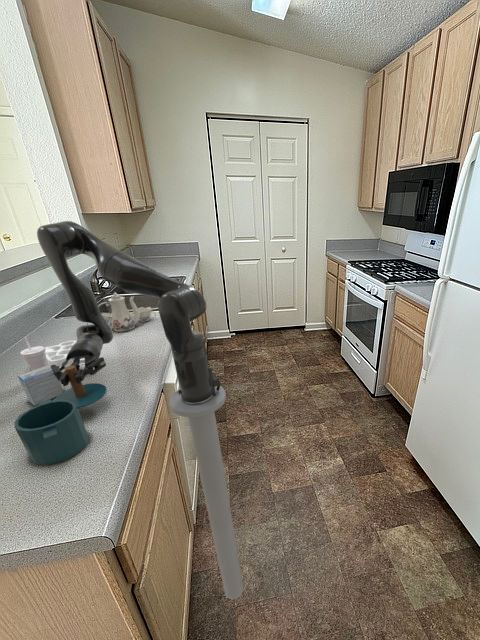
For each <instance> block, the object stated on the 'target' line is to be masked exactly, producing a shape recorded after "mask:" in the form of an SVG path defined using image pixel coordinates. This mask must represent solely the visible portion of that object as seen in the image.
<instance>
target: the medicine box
mask: <svg viewBox="0 0 480 640" xmlns="http://www.w3.org/2000/svg"><path fill="white" fill-rule="evenodd" d="M17 379H18V381H19V384H20V385H21V387H22V389H23V391H24V393H25V395H26V398H27V400H28V402H29V403H31V404H32V405H33V407H35V406H37V405H39V402H42V401H46V400H49V399H51V400H52V399H55V398H56V397H57V396H58V395H60V394H61V393H63V392H64V391H65V390H64V388H63V386H62V385H63V384H61V382H60V380H58V379H57V378H56V377H55V375H54V374H53V372H52V369H51V367H50V366H49V365H47V366H45V367H42V368H39V369H36V370H33V371H32V370H31V371H28V372H25V373H22V374H19V375H18V376H17Z"/></svg>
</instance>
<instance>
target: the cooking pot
mask: <svg viewBox="0 0 480 640" xmlns="http://www.w3.org/2000/svg"><path fill="white" fill-rule="evenodd" d="M14 429H15V431H16V433H17V434H18V437H19V439H20V441H21V443H22V444H23V445H22V446H23V447H24V449H25V451H26V452H27V454H28V456H29V459H30V460H31V461H32V462H33V463H35V464H36V465H42V466H46V465H54V464H57V463H61V462H64V461H67V460H68V459H70V458H72V457H74V456H76V455H78V454H79V453H81V452H82V451H83V450H84V449H85V448H86V446H87V445H88V443H89V440H90V437H89V434H88V431H87V429H86V426H85V424H84V421H83V418H82V416H81V413H80V410H79V408H77V406H76V403H74V402H72V401H70V400H57V401H54V400H52V399H49V400H46V401H42V402H39V404H38V405H36V406H33V407H31V408H29V409H27V410H25V411H24V412H22V413H21V414H20V415H19V416H18V417H17V418H16V419H15V421H14Z"/></svg>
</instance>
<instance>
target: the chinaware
mask: <svg viewBox="0 0 480 640" xmlns="http://www.w3.org/2000/svg"><path fill="white" fill-rule="evenodd" d="M134 298H135V296H134V295H132V296H130V297H129V304H130V306H131V309H132V313H131V312H130V311H129V309H128V307H127V305H126V300H125V299H126V297H125V296H121V295H120V294H118V293H117V292H115V291H114V292H113V294H112V295H111V297H109V298H108V300H107V301H103V302H101V303H99V304H98V307H99V308H100V307H101V306H102V305H106V307H109V306H110V308H111V313H107V312H100V313H101V314H102V316H103V318H104V319H105V321H106V322H107V323H108V325H109V326H110V328H111V329H113V332H117V333H124V332H128V331H129V332H130V331H131V330H134V329H135V328H136V326H135V325H136V324H137V322H138V321H139V320H140V322H142V323H144V322H149V321H150V320H152V318H155V317H156V316H157V314H156V312H155V311H154V310H153V308H152V307H151V306H146V307H144V306H140V307H137V304H136V303H135V301H134ZM152 313H154V316H152ZM86 325H89V324H88V323H86Z"/></svg>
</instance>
